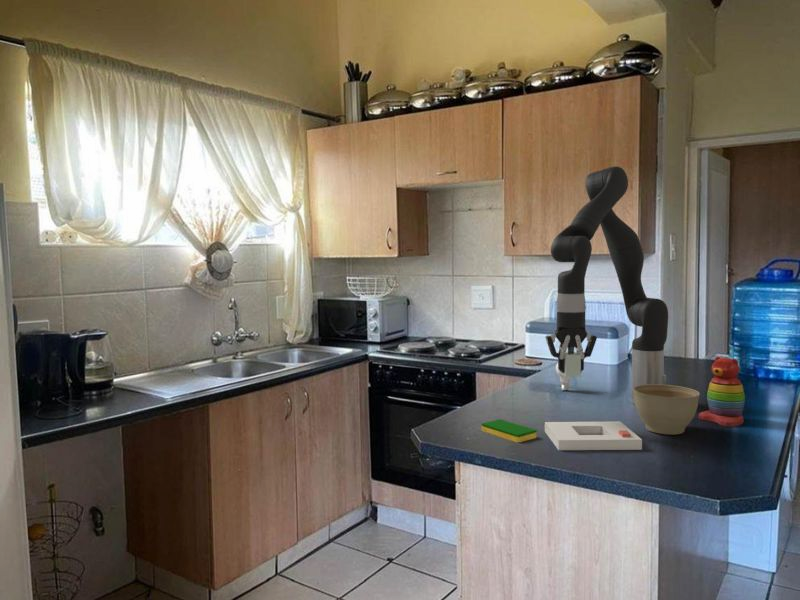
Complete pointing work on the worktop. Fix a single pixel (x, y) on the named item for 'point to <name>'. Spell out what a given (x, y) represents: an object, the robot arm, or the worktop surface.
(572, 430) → the socket plate
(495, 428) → the dish sponge
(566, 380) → the lightbulb
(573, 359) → the plug
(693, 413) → the planter bowl
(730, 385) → the stacking bear
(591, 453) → the worktop surface
